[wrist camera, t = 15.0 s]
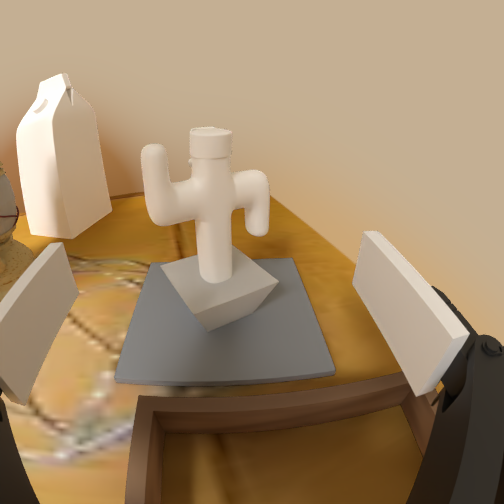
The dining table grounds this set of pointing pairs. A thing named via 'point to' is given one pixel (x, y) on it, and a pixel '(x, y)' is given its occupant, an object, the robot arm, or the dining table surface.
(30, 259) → the lantern
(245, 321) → the slate pad
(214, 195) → the figurine
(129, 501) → the walnut holder
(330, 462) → the dining table surface
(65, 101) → the milk
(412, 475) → the dining table surface
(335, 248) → the dining table surface
